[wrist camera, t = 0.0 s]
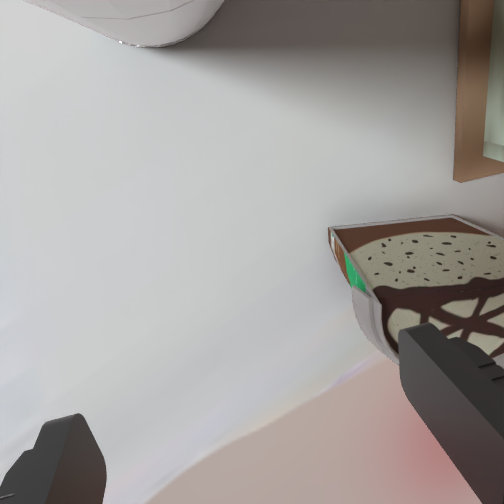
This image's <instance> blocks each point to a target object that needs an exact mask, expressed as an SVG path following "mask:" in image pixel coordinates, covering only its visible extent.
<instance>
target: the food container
mask: <svg viewBox="0 0 504 504" xmlns="http://www.w3.org/2000/svg"><path fill="white" fill-rule="evenodd" d="M328 237H329V244H330V247H331V250H332V252H333V255H334V258H335V260H336V262H337V264H338V265H339V267H340V269H341V271H342V272H343V274H344V276H345V278H346V279H347V281H348V283H349V285H350V286H351V288H352V301H353V306H354V311H355V316H356V318H357V321H358V323H359V326H360V328H361V330H362V331H363V333H364V334H365V336H366V337H367V339H368V340H369V341H370V342H371V343H372V344H373V345H374V346H375V347H376V348H377V349H378V350H380V351H381V352H382V353H383V354H384V355H386V356H387V357H388V358H389V359H390V360H392V361H393V362H394V363H396V364H397V365H399V347H398V333H399V330H401V329H404V328H408V327H412V326H415V325H419V324H423V323H427V322H430V323H432V324H434V325H435V326H436V327H437V328H438V329H439V330H440V331H441V332H442V333H443V334H444V335H445V336H446V337H447V338H448V339H450V338H453V337H459V338H461V339H463V340H465V341H468V342H470V343H472V344H474V345H476V346H478V347H480V348H481V349H482V350H483V351H484V352H485V353H486V354H488V355H489V356H490V357H491V358H492V359H493V360H494V361H495V362H496V364H497V365H500V366H501V367H502V368H503V369H504V237H502V236H500V235H497V234H495V233H493V232H491V231H488V230H486V229H484V228H482V227H479V226H477V225H475V224H473V223H471V222H468V221H466V220H464V219H462V218H459V217H457V216H455V215H453V214H450V215H441V216H431V217H421V218H412V219H402V220H392V221H383V222H373V223H363V224H354V225H344V226H334V227H328Z"/></svg>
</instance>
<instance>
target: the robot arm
mask: <svg viewBox="0 0 504 504" xmlns="http://www.w3.org/2000/svg"><path fill="white" fill-rule="evenodd" d="M24 1H26V2H28V3H31V4H34V5H36V6H39V7H41V8H43V9H46V10H48V11H50V12H53V13H55V14H57V15H59V16H62V17H64V18H66V19H69V20H71V21H73V22H76V23H78V24H80V25H82V26H85V27H87V28H89V29H92V30H94V31H96V32H98V33H101V34H103V35H105V36H108V37H110V38H112V39H115V40H117V41H118V42H120V43H123V44H127V45H131V46H137V47H140V46H141V47H147V48H149V47H162V46H168V45H171V44H174V43H177V42H180V41H183V40H185V39H187V38H188V37H190V36H192V35H194V34H195V33H196V32H198V31H199V30H200V29H202V28H203V27H204V26H205V25H206V23H207V22H208V21H209V20H210V19H211V18H212V17H213V16H214V14H215V13H216V11H217V10H218V9H219V8H220V6H221V5H222V3H223V2H224V1H225V0H24ZM398 347H399V367H400V379H401V383H402V387H403V389H404V392H405V394H406V396H407V398H408V400H409V401H410V403H411V404H412V406H413V407H414V409H415V410H416V411H417V413H418V414H419V416H420V417H421V418H422V420H423V421H424V423H425V424H426V425H427V427H428V428H429V430H430V431H431V432H432V434H433V435H434V436H435V438H436V439H437V441H438V442H439V444H440V445H441V446H442V448H443V449H444V451H445V452H446V453H447V455H448V456H449V457H450V459H451V460H452V462H453V463H454V464H455V466H456V467H457V469H458V470H459V471H460V473H461V474H462V476H463V477H464V478H465V480H466V481H467V483H468V484H469V485H470V487H471V488H472V490H473V491H474V492H475V494H476V495H477V497H478V498H479V499H480V501H481V502H482V504H504V369H503V368H502V367H501V366H500V365H497V364H496V362H495V361H494V360H493V359H492V358H491V357H490V356H489V355H488V354H486V353H485V352H484V351H483V350H482V349H481V348H480V347H478V346H476V345H474V344H472V343H470V342H468V341H465V340H463V339H461V338H459V337H453V338H450V339H448V338H447V337H446V336H445V335H444V334H443V333H442V332H441V331H440V330H439V329H438V328H437V327H436V326H435V325H434V324H432V323H430V322H427V323H423V324H419V325H415V326H412V327H408V328H404V329H401V330H399V333H398ZM106 477H107V474H106V465H105V460H104V457H103V455H102V453H101V451H100V449H99V447H98V444H97V442H96V440H95V438H94V436H93V434H92V432H91V430H90V428H89V426H88V424H87V422H86V420H85V418H84V417H83V415H81V414H79V413H78V414H74V415H70V416H66V417H63V418H59V419H55V420H51V421H48V422H46V423H45V424H44V425H43V426H42V428H41V431H40V433H39V436H38V438H37V440H36V443H35V445H34V448H33V449H31V450H27V451H24V452H23V454H22V455H21V456H20V457H19V458H18V460H17V461H16V462H15V463H14V465H13V466H12V467H11V468H10V470H9V471H8V472H7V473H6V475H5V477H4V480H3V482H2V484H1V486H0V504H102V503H103V497H104V492H105V487H106Z"/></svg>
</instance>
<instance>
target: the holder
mask: <svg viewBox="0 0 504 504" xmlns="http://www.w3.org/2000/svg"><path fill="white" fill-rule="evenodd" d="M500 173H504V0H461V3H460V27H459V52H458V77H457V101H456V126H455V150H454V175H453V180H455V181H457V182H460V183H462V182H466V181H470V180H474V179H479V178H483V177H487V176H491V175H495V174H500Z"/></svg>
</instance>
